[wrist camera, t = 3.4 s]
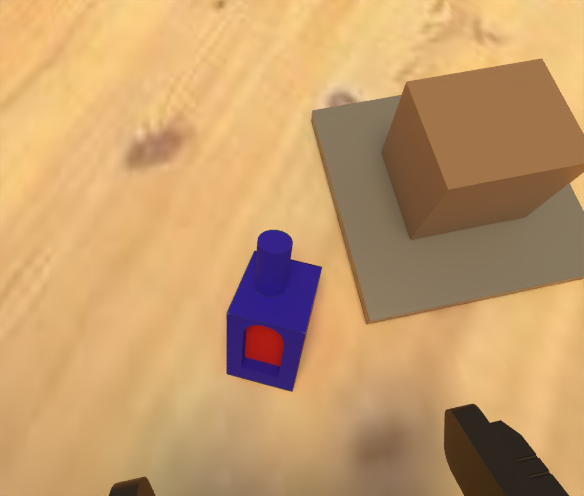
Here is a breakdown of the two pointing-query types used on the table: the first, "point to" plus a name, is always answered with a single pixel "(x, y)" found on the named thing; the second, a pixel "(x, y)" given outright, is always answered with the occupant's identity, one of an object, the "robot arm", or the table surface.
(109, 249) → the table surface
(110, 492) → the robot arm
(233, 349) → the toy building block
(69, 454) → the table surface
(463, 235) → the plate
